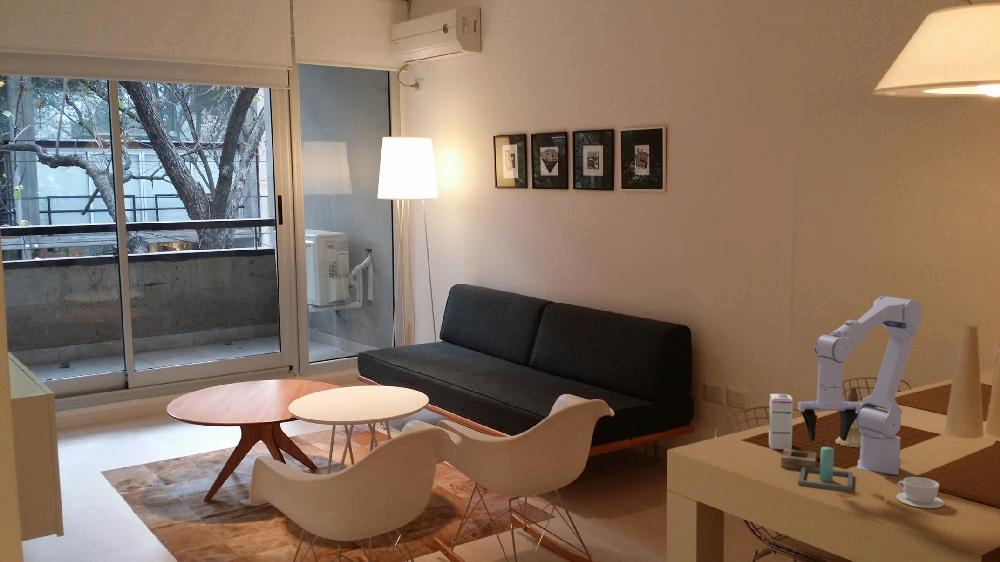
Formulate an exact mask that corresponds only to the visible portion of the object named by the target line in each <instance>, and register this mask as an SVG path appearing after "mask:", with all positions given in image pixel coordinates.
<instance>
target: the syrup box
mask: <svg viewBox="0 0 1000 562" xmlns="http://www.w3.org/2000/svg"><path fill="white" fill-rule="evenodd" d="M793 402H794V399H793V397H792V395H791V394H787V393H770V394H769V417H768V418H769V422H768V426H769V427H768V445H769V449H772V450H784V448H786V449H793V448H792V447H793V446H792V444H793V417H794V416H793V414H794V413H793V412H794V411H793V408H794V407H793V405H794V403H793Z"/></svg>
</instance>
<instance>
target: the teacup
mask: <svg viewBox="0 0 1000 562" xmlns="http://www.w3.org/2000/svg"><path fill="white" fill-rule="evenodd" d="M901 484H902V486H903V488H902V486H901ZM897 488H898V489H899V490H900V493H898V494H896V499H897V500H898V501H900V502H901V503H903V504H905V505H909V506H913V507H917V508H922V509H923V508H925V509H935V508H942V507H943V506H944V505H945V502H944V501H943V499H941V498H939V497H937V496H938V493H939V489H940V483H939V482H938V481H936V480H933V479H931V478H926V477H922V476H908V477H905V478H903V480H900V481H898V482H897ZM918 503H919V504H918Z"/></svg>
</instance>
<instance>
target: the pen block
mask: <svg viewBox="0 0 1000 562" xmlns="http://www.w3.org/2000/svg"><path fill="white" fill-rule="evenodd" d="M817 453H818V452H817V451H811V450H801V449H793V448H792V449H786V448H784V449H783V451H782V455H781V462H780V463H781V464H780V467H781V468H787V469H796V470H801V468H802V466H807V467H815V468H816V465H817V455H818V454H817Z"/></svg>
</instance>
